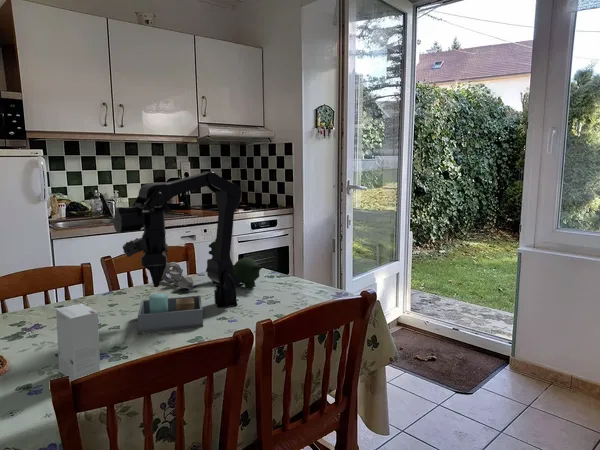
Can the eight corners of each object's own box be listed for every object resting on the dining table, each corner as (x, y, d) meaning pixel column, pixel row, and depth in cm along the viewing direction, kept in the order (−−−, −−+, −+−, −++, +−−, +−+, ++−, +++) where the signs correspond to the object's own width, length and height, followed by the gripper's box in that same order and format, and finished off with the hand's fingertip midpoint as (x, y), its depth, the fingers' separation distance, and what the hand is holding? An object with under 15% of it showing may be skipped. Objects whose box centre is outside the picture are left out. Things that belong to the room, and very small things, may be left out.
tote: (200, 310, 135) (200, 295, 134) (203, 326, 122) (202, 309, 122) (142, 316, 130) (141, 300, 130) (138, 333, 118) (137, 315, 117)
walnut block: (194, 313, 130) (193, 297, 130) (194, 319, 126) (194, 302, 125) (177, 315, 129) (176, 299, 128) (177, 321, 124) (176, 304, 123)
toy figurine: (206, 287, 165) (255, 293, 150) (201, 237, 163) (250, 238, 148) (224, 281, 173) (272, 287, 158) (219, 234, 171) (268, 234, 156)
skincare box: (58, 372, 96) (52, 308, 94) (86, 362, 101) (81, 301, 98) (75, 385, 91) (69, 317, 88) (103, 374, 95) (98, 309, 93)
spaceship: (165, 252, 182) (147, 248, 176) (205, 278, 156) (186, 274, 151) (158, 270, 182) (140, 266, 176) (197, 299, 156) (178, 295, 151)
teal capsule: (168, 315, 128) (167, 293, 127) (168, 321, 124) (167, 298, 123) (150, 317, 127) (149, 294, 126) (149, 323, 122) (148, 299, 121)
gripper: (127, 225, 128) (130, 276, 130) (119, 235, 110) (123, 294, 113) (166, 223, 131) (169, 273, 133) (164, 233, 113) (167, 291, 115)
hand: (157, 282), depth 124 cm, fingers open, 9 cm apart
